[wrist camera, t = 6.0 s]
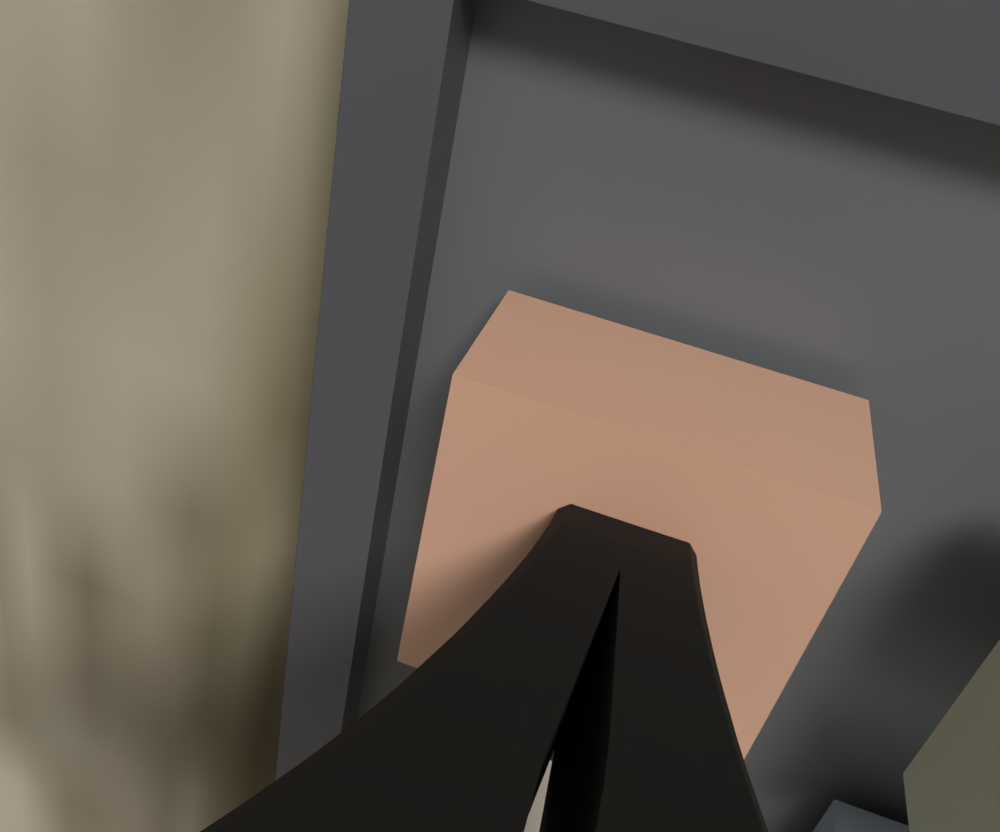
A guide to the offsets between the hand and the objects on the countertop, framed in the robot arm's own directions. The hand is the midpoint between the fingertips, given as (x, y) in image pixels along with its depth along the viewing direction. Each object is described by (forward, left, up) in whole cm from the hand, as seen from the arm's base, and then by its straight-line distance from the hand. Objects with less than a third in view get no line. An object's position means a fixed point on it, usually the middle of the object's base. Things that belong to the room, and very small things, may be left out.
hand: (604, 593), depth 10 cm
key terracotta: (0, 0, -2) cm, 2 cm away
